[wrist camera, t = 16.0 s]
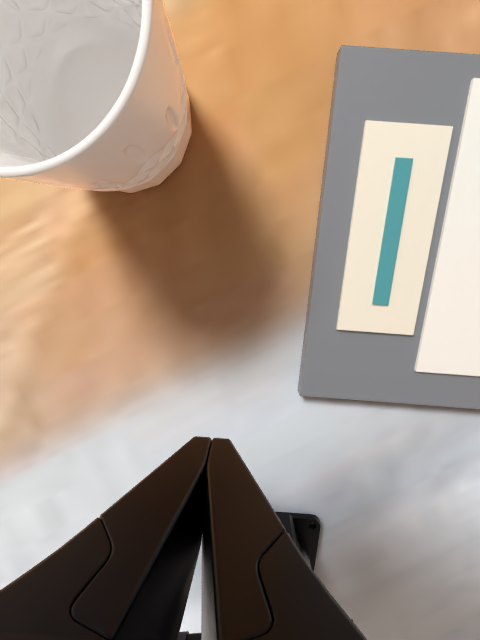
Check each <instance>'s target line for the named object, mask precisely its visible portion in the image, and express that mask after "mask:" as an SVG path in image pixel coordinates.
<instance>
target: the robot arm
mask: <svg viewBox="0 0 480 640" xmlns="http://www.w3.org/2000/svg"><path fill="white" fill-rule="evenodd" d="M310 523H314V524H312V525H310ZM319 532H320V522H319V519H318V517H317V516H315V515H311V514H298V513H285V512H275V511H274V510H273V508H272V507H271V505H270V503H269V502H268V500H267V499H266V497H265V495H264V494H263V492H262V490H261V489H260V487H259V486H258V484H257V482H256V481H255V479H254V478H253V476H252V474H251V473H250V471H249V470H248V468H247V466H246V465H245V463H244V461H243V460H242V458H241V457H240V455H239V453H238V452H237V450H236V449H235V447H234V445H233V444H232V442H231V441H230V440H229V439H224V438H214V439H213V440H211V438H209V437H197V436H196V437H193V438H192V439H191V440H190V441H189V442H187V443H186V444H185V445H184V446H183V447H181V448H180V449H179V450H178V451H177V452H175V453H174V454H173V455H172V456H171V457H169V458H168V459H167V460H166V461H165V462H163V463H162V464H161V465H160V466H159V467H157V468H156V469H155V470H154V471H153V472H151V473H150V474H149V475H148V476H147V477H146V478H144V479H143V480H142V481H141V482H140V483H138V484H137V485H136V486H135V487H134V488H132V489H131V490H130V491H129V492H128V493H126V494H125V495H124V496H123V497H122V498H120V499H119V500H118V501H117V502H116V503H114V504H113V505H112V506H111V507H110V508H108V509H107V510H106V511H105V512H104V513H103V514H101V515H100V518H96V519H95V520H94V521H93V522H92V523H90V524H89V525H88V526H87V527H86V528H84V529H83V530H82V531H81V532H79V533H78V534H77V535H76V536H74V537H73V538H72V539H71V540H69V541H68V542H67V543H66V544H64V545H63V546H62V547H61V548H59V549H58V550H56V551H55V552H54V553H52V554H51V555H50V556H48V557H47V558H45V559H44V560H43V561H41V562H40V563H39V564H37V565H36V566H34V567H33V568H32V569H30V570H29V571H27V572H26V573H25V574H23V575H22V576H20V577H19V578H17V579H16V580H14V581H13V582H12V583H10V584H9V585H7V586H6V587H4V588H3V589H2V590H0V640H367V639H366V638H365V637H364V635H363V634H362V633H361V632H360V630H359V629H358V628H357V627H356V625H355V624H354V623H353V620H352V619H350V618H349V617H348V615H347V614H346V613H345V612H344V610H343V609H342V608H341V607H340V605H339V604H338V603H337V602H336V600H335V599H334V598H333V597H332V595H331V594H330V593H329V591H328V590H327V589H326V587H325V586H324V585H323V584H322V582H321V581H320V580H319V578H318V577H317V576H316V574H315V573H314V566H315V559H316V552H317V546H318V539H319ZM202 534H203V536H202ZM201 540H202V633H192V634H189V632H188V631H187V632H179V631H180V627H181V623H182V619H183V615H184V611H185V607H186V603H187V599H188V595H189V590H190V586H191V582H192V578H193V574H194V570H195V566H196V562H197V558H198V554H199V550H200V545H201Z"/></svg>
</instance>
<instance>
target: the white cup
mask: <svg viewBox="0 0 480 640" xmlns="http://www.w3.org/2000/svg"><path fill="white" fill-rule="evenodd" d="M191 134H192V127H191V113H190V100H189V95H188V92H187V89H186V83H185V78H184V73H183V69H182V65H181V62H180V59H179V54H178V50H177V45H176V42H175V38H174V35H173V31H172V28H171V25H170V22H169V18H168V15H167V12H166V8H165V5H164V2H163V0H0V178H2V179H10V180H16V181H23V182H31V183H38V184H44V185H51V186H57V187H62V188H70V189H83V190H92V191H121V192H127V193H134V192H137V191H140V190H144V189H147V188H150V187H153V186H157V185H160V184H161V183H162V182H163V181H164V180H165V179H166V178H167V177H168V176H169V175H170V174H171V173H172V172H173V171H174V170H175V169H176V168H177V167H178V166H179V165H180V164H181V162H182V159H183V156H184V154H185V151H186V148H187V145H188V142H189V140H190V137H191Z"/></svg>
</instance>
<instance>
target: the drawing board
mask: <svg viewBox="0 0 480 640" xmlns="http://www.w3.org/2000/svg"><path fill="white" fill-rule="evenodd" d="M298 392H299V395H300V396H310V397H323V398H336V399H350V400H363V401H377V402H390V403H403V404H417V405H430V406H444V407H457V408H470V409H480V55H477V54H463V53H448V52H434V51H419V50H405V49H390V48H375V47H361V46H346V45H341V47H340V49H339V51H338V53H337V59H336V68H335V76H334V85H333V93H332V102H331V110H330V119H329V128H328V136H327V145H326V153H325V162H324V170H323V179H322V188H321V196H320V205H319V213H318V222H317V230H316V239H315V248H314V256H313V265H312V273H311V282H310V290H309V299H308V308H307V316H306V325H305V333H304V342H303V350H302V359H301V368H300V376H299V385H298Z"/></svg>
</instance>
